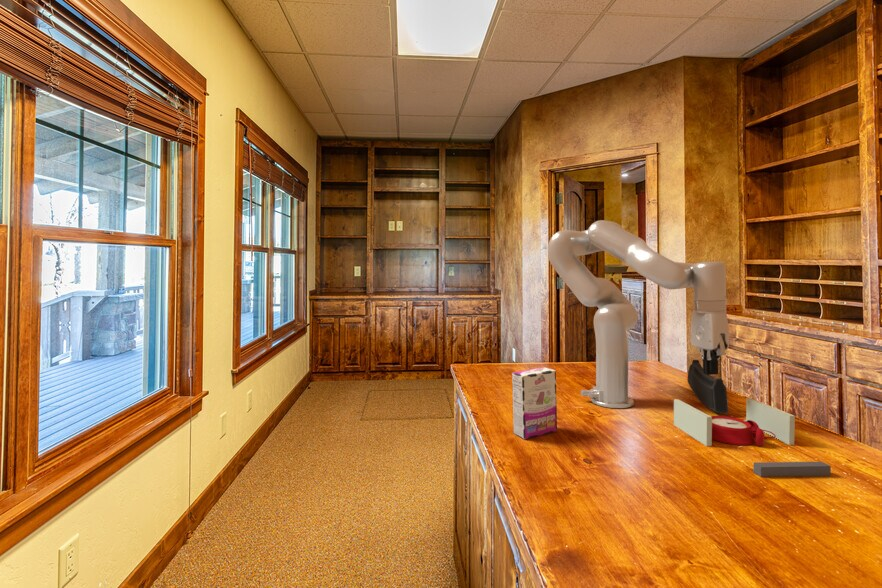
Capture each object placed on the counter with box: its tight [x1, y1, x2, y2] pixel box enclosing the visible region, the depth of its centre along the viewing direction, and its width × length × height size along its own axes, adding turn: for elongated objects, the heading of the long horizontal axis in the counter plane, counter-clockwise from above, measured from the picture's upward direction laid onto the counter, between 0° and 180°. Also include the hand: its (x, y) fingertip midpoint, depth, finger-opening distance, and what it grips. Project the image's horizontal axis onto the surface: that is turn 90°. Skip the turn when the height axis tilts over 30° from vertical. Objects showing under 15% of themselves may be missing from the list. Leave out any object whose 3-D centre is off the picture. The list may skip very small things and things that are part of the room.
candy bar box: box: [511, 367, 558, 440], centre depth 108 cm, size 11×5×16 cm, turn 117°
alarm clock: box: [710, 415, 776, 447], centre depth 103 cm, size 10×6×15 cm
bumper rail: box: [752, 461, 832, 478], centre depth 85 cm, size 14×2×2 cm, turn 90°
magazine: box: [686, 359, 729, 414], centre depth 131 cm, size 17×3×30 cm
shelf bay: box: [673, 397, 796, 447], centre depth 105 cm, size 21×14×7 cm
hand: (710, 373), depth 113 cm, fingers closed
